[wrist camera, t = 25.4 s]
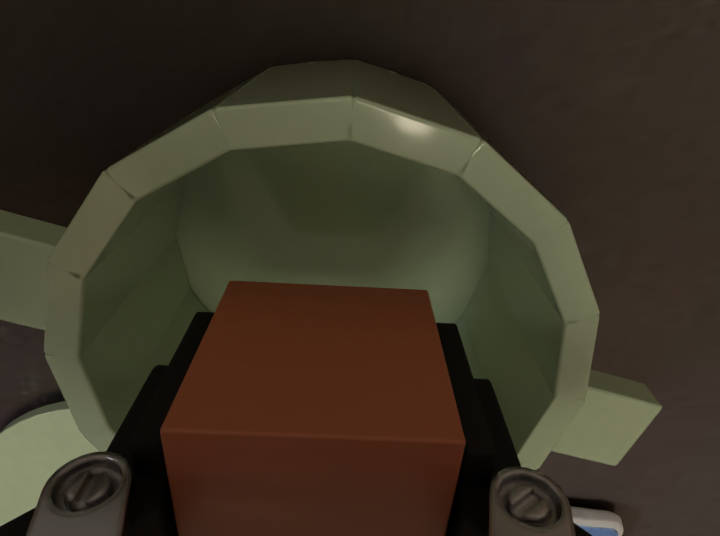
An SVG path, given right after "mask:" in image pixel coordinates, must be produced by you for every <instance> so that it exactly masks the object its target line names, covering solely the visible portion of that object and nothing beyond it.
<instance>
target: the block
mask: <svg viewBox="0 0 720 536" xmlns="http://www.w3.org/2000/svg"><path fill="white" fill-rule="evenodd" d="M160 435H161V441H162V446H163V452H164V458H165V464H166V469H167V475H168V481H169V487H170V492H171V498H172V504H173V510H174V515H175V521H176V527H177V533H178V536H445V535H446V531H447V526H448V522H449V517H450V513H451V508H452V503H453V499H454V494H455V490H456V485H457V480H458V476H459V471H460V467H461V462H462V458H463V453H464V448H465V444H466V441H465V437H464V433H463V429H462V425H461V421H460V417H459V413H458V409H457V405H456V401H455V397H454V393H453V389H452V385H451V381H450V377H449V373H448V369H447V365H446V361H445V357H444V353H443V349H442V345H441V341H440V337H439V333H438V329H437V325H436V321H435V317H434V313H433V309H432V305H431V301H430V297H429V293H428V291H427V290H417V289H396V288H376V287H355V286H334V285H314V284H293V283H273V282H252V281H229V283H228V285H227V287H226V289H225V291H224V294H223V296H222V298H221V300H220V302H219V304H218V307H217V309H216V311H215V313H214V315H213V317H212V319H211V322H210V324H209V326H208V328H207V330H206V332H205V334H204V337H203V339H202V341H201V343H200V345H199V347H198V349H197V352H196V354H195V356H194V358H193V360H192V362H191V365H190V367H189V369H188V371H187V373H186V375H185V377H184V380H183V382H182V384H181V386H180V388H179V390H178V392H177V395H176V397H175V399H174V401H173V403H172V405H171V407H170V410H169V412H168V414H167V416H166V418H165V420H164V422H163V425H162V427H161V429H160Z"/></svg>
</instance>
